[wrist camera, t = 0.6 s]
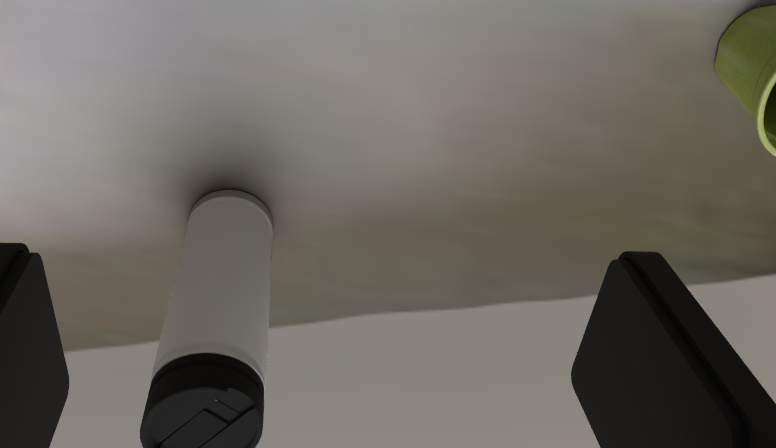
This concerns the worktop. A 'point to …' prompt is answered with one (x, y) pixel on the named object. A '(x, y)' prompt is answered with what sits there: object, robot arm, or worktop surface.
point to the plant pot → (752, 68)
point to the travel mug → (215, 330)
